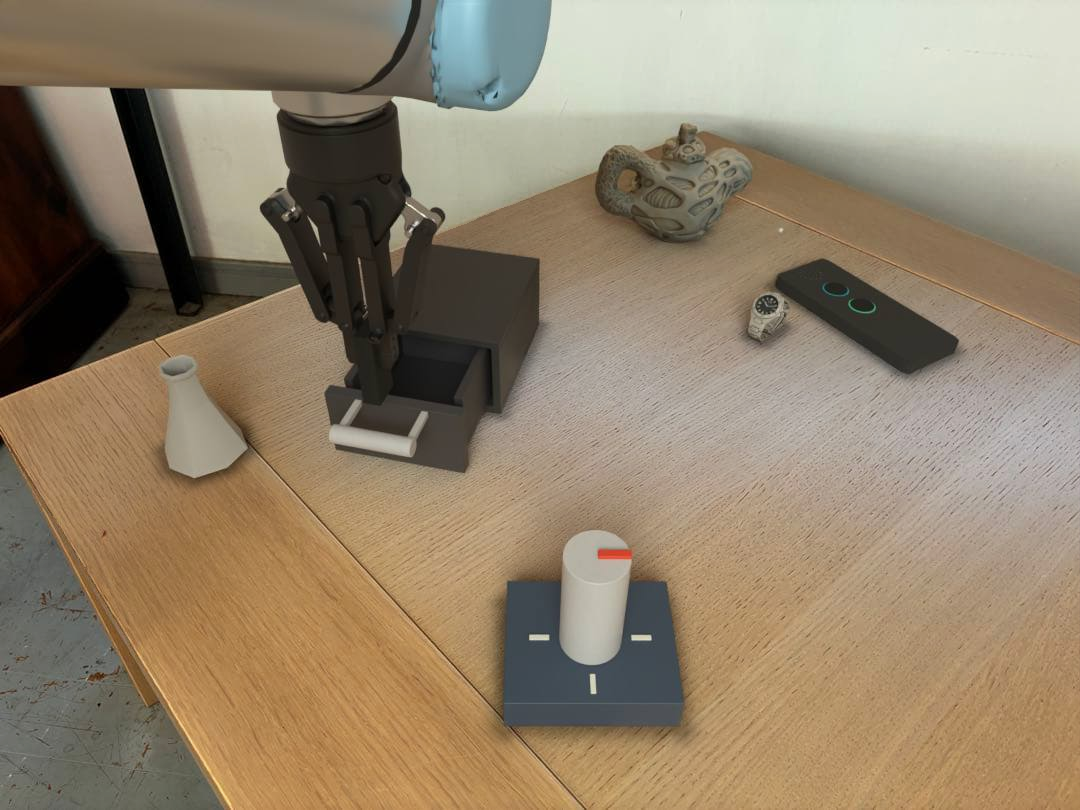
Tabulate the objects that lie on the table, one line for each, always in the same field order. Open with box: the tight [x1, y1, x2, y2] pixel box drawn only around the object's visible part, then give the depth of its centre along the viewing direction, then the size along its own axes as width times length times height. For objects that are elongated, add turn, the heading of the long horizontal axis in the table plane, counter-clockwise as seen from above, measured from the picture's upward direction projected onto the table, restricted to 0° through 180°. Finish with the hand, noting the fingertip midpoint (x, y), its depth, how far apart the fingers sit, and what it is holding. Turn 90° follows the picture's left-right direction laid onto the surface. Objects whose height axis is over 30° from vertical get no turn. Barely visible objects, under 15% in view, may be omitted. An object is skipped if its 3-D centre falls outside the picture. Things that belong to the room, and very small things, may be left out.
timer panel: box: [502, 580, 685, 727], centre depth 59 cm, size 12×10×3 cm
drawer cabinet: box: [363, 243, 541, 415], centre depth 85 cm, size 16×14×9 cm
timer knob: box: [559, 529, 633, 665], centre depth 55 cm, size 4×4×9 cm
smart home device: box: [775, 258, 960, 375], centre depth 94 cm, size 8×2×20 cm
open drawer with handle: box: [324, 334, 493, 474], centre depth 76 cm, size 20×12×7 cm, turn 166°
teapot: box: [594, 122, 754, 243], centre depth 104 cm, size 21×12×15 cm, turn 108°
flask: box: [157, 353, 249, 479], centre depth 74 cm, size 7×7×10 cm
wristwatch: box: [747, 290, 791, 343], centre depth 90 cm, size 4×6×5 cm, turn 137°
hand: (378, 393), depth 67 cm, fingers closed
